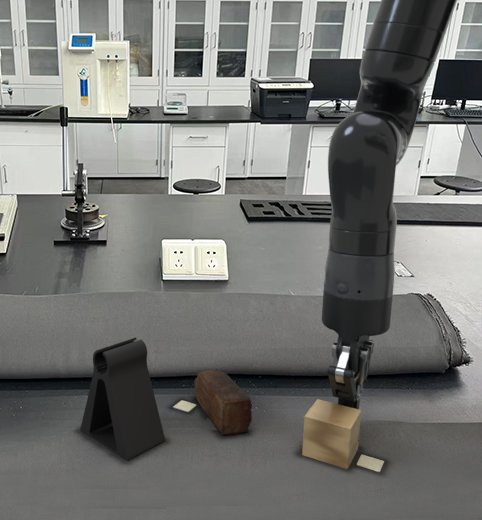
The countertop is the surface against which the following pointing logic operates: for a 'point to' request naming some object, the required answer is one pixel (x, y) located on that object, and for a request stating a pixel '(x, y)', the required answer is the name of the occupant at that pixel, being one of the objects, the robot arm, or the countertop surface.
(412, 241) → the countertop surface
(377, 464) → the line marks
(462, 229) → the countertop surface
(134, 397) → the phone stand
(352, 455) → the birch block
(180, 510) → the countertop surface
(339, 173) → the robot arm
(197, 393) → the brick
